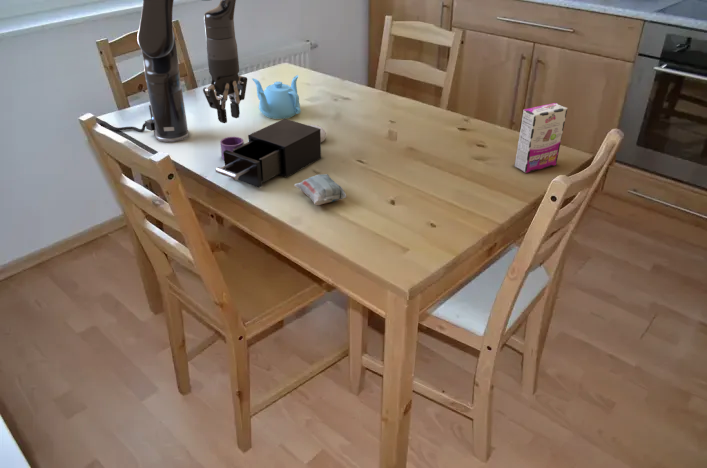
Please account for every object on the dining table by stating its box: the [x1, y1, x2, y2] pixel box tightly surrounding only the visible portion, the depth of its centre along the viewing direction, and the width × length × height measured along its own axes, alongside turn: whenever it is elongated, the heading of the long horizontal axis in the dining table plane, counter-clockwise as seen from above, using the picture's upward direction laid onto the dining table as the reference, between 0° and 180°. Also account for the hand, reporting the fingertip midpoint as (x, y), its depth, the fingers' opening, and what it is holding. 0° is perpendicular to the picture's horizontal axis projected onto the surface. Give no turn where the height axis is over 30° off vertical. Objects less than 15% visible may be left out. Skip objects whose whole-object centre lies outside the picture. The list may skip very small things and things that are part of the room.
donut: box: [307, 124, 327, 143], centre depth 171 cm, size 10×4×10 cm
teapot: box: [251, 74, 302, 120], centre depth 186 cm, size 15×15×10 cm
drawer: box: [215, 140, 284, 189], centre depth 148 cm, size 19×11×7 cm, turn 145°
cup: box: [219, 136, 245, 161], centre depth 159 cm, size 6×6×5 cm
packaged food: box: [293, 173, 348, 206], centre depth 141 cm, size 9×12×5 cm
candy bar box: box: [514, 102, 569, 174], centre depth 155 cm, size 11×5×16 cm, turn 117°
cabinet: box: [247, 118, 322, 178], centre depth 157 cm, size 15×13×9 cm
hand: (229, 119), depth 155 cm, fingers open, 4 cm apart
